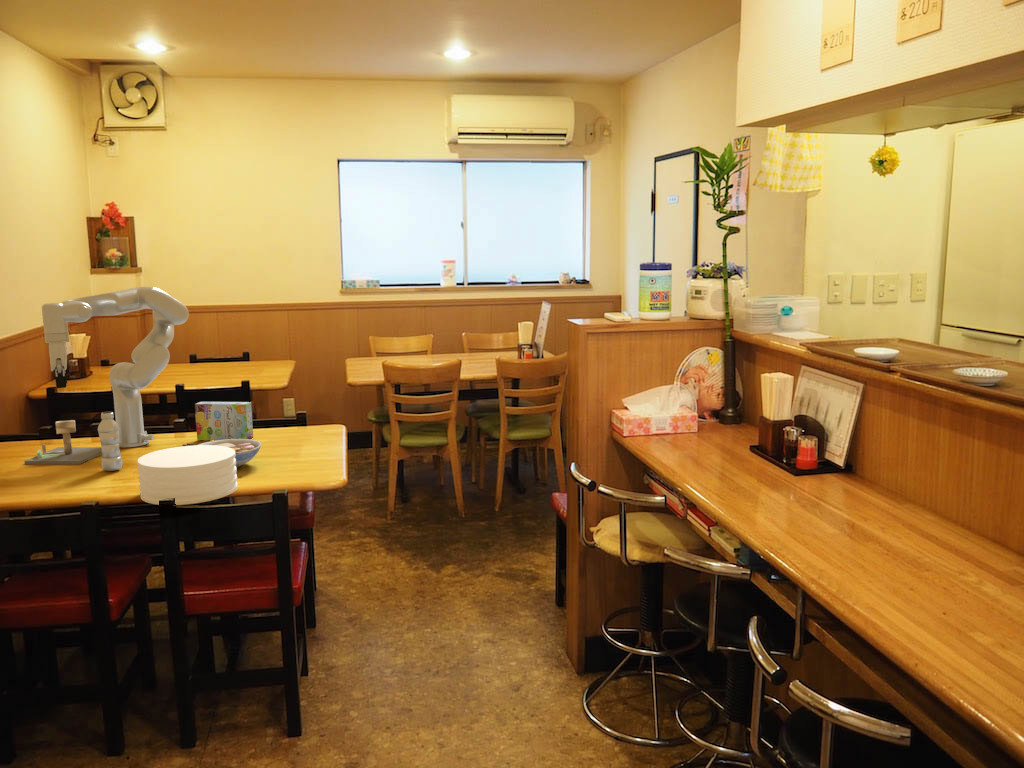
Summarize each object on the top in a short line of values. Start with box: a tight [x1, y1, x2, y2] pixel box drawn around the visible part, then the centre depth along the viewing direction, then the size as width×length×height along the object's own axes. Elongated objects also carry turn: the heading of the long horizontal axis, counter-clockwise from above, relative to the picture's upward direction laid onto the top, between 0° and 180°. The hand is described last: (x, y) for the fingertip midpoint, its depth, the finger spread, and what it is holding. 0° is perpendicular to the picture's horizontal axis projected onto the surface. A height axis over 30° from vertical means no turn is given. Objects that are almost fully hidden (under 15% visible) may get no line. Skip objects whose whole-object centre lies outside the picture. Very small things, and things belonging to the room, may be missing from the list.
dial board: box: [23, 446, 102, 465], centre depth 303 cm, size 20×20×3 cm
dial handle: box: [41, 419, 77, 455], centre depth 302 cm, size 11×2×12 cm, turn 113°
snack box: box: [194, 401, 254, 441], centre depth 326 cm, size 21×6×15 cm, turn 82°
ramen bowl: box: [181, 439, 262, 468], centre depth 287 cm, size 25×23×8 cm
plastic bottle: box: [97, 411, 124, 472], centre depth 283 cm, size 6×7×20 cm
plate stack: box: [137, 444, 239, 506], centre depth 258 cm, size 28×28×12 cm
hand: (61, 385), depth 300 cm, fingers open, 9 cm apart
